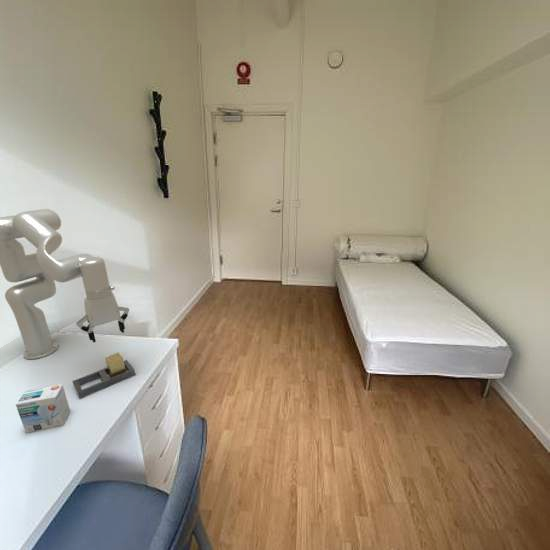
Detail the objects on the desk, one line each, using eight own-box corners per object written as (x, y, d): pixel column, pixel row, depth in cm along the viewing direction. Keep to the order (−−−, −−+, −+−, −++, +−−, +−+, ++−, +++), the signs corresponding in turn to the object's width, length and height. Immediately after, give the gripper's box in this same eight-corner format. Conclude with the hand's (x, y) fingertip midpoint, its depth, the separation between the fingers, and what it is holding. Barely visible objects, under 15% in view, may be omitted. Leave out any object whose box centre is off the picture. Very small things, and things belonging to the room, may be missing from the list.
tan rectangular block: (109, 375, 122) (104, 357, 120) (122, 370, 126) (118, 352, 123) (113, 381, 119) (108, 363, 116) (127, 375, 122) (122, 357, 119)
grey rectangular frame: (74, 386, 117) (72, 381, 116) (127, 365, 129) (126, 359, 128) (79, 399, 110) (77, 393, 110) (135, 375, 122) (134, 369, 121)
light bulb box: (25, 433, 97) (14, 404, 93) (34, 417, 103) (24, 390, 99) (64, 425, 99) (55, 397, 96) (71, 410, 105) (63, 383, 102)
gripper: (121, 283, 119) (129, 324, 125) (67, 296, 108) (79, 340, 114) (127, 289, 114) (135, 331, 119) (72, 303, 103) (84, 349, 109)
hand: (108, 336), depth 117 cm, fingers open, 9 cm apart
